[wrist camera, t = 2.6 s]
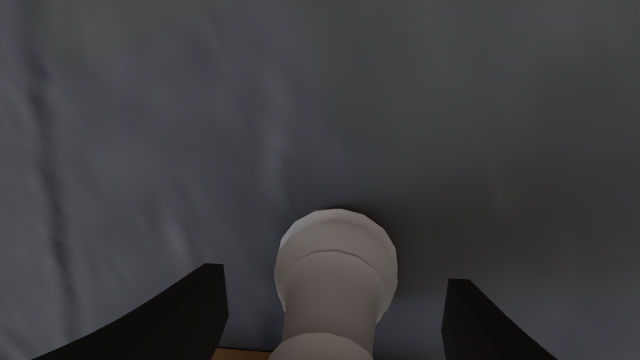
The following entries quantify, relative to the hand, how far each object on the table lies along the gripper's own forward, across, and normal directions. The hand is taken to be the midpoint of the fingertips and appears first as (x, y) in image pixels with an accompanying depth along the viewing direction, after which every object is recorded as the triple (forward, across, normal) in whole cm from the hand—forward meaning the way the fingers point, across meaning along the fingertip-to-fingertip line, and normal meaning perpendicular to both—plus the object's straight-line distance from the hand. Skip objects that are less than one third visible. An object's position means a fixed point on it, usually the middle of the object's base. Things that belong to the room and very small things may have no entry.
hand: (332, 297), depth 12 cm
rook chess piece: (+3, 0, 0) cm, 3 cm away
